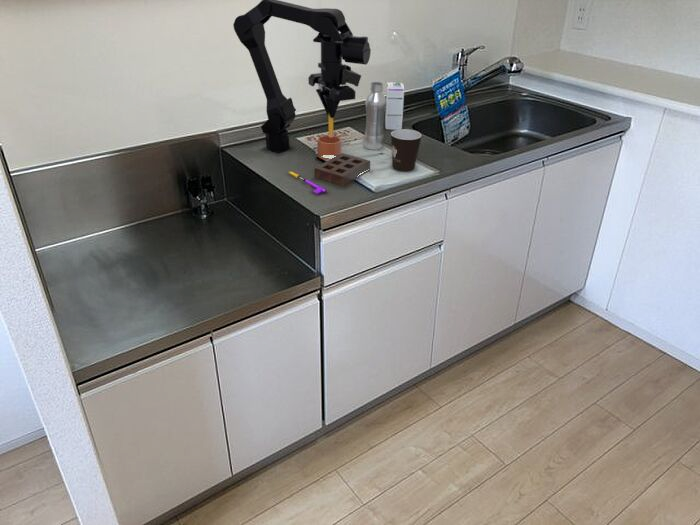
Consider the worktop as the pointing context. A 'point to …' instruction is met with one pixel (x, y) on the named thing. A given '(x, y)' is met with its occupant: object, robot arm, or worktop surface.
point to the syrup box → (394, 105)
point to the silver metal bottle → (374, 117)
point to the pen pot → (329, 146)
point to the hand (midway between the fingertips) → (331, 116)
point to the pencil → (330, 127)
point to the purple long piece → (311, 184)
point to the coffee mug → (404, 149)
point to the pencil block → (342, 169)
